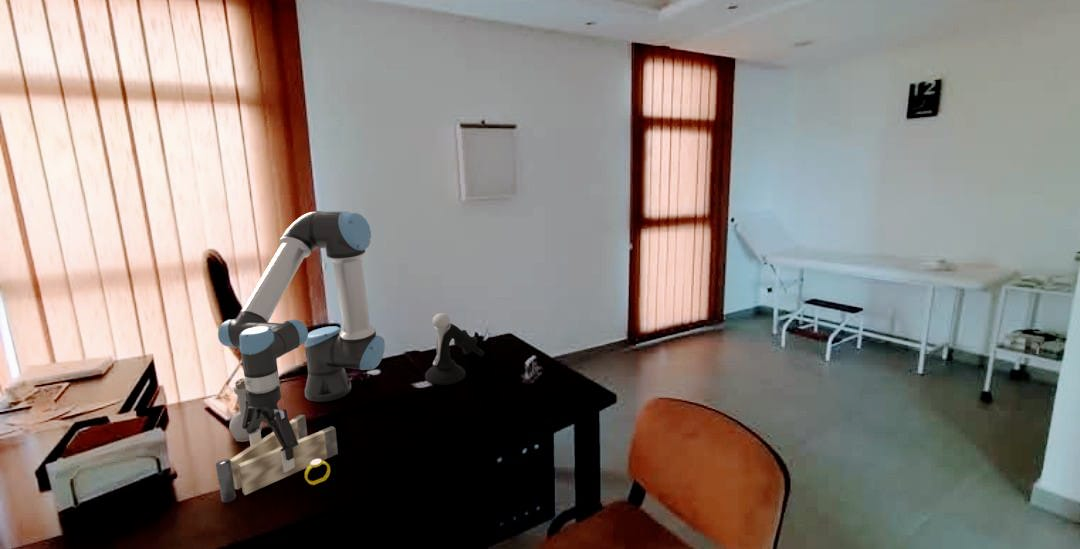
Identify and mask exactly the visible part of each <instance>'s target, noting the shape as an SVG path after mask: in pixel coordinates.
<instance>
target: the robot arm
mask: <svg viewBox="0 0 1080 549" xmlns="http://www.w3.org/2000/svg"><path fill="white" fill-rule="evenodd" d="M369 224H370V223H368V220H367V218H365V217H364V216H363V215H362V214H361V213H358V212H350V211H322V210H321V211H320V210H316V211H310V212H307V213H305V214H303V215H301V216H300V217H298V218H297V219H295V221H293V222H292V223H291V224H290V225H289V226H288V227H287V228H286V229H285V231H284V232H283V234H282V235H281V237H280V238H279V240H278V245H279V247H278V248H277V250H276V252H275V254H273V257H272V258H271V260H270V262H269V264H268V265H267V267H266V269H264V270H265V271H264V272H263V273H262V275H261V277H260V278H259V280H258V282H257V284H256V285H255V287H254V288H253V290H252V291H251V293H250V295H249V297H248V298H247V300H246V302H245V303H244V305H243V306H242V308H241V309H240V311H239V313H238V314H237V316H236V318H234V319H227V320H225V321H224V322H221V323H222V324H221V325H220V326H219V327H218V332H217V337H218V340H219V342H220V344H221V345H223V346H225V347H229V348H234V349H236V350H237V349H239V352H240V357H241V358H240V359H241V364H242V369H243V375H244V379H245V382H244V384H245V385H246V390H247V392H246V398H247V401H246V410H245V415H244V419H243V424H242V428H243V429H247V430H246V431H247V433H249V439H250V441H249V443H250V446H252V445H253V444H255V443H256V442H258V441H260V440H261V439H262V434H261V432H262V431H261V432H260V430H257V429H259V428H260V424H261V422H262V421H263V423H265V424H266V426H267V427H268V428H270V429H271V430H272V432H274V434H275V435H276V437H277V439H278V441H279V442H280V444H281V446H282V449H281V457H282V464H283V472H287V471H289V470H291V469H292V468H294V467H295V464H294V454H293V447H295V446H297V445H298V441H297V439H296V436H295V434H294V431H293V429H292V426H291V424H290V422H289V421H290V419H289V417H288V412H287V409H286V408H283V409H279V407H278V403H279V402H280V401H281V399H282V394H281V392H282V391H281V386H280V378H279V376H280V375H279V370H278V369H279V368H278V361H277V360H278V359H279V358H281V357H282V356H284V355H286V354H287V353H289V352H292V351H293V350H295V349H298V348H299V347H300V346H302V345H303V344H304V349H305V357H306V358H305V359H306V365H307V374H308V375H307V378H306V379H307V380H306V383H305V387H304V397H305V398H306V399H307V400H308V401H311V402H316V403H323V402H331V401H335V400H338V399H341V398H343V397H345V396H347V395H348V394H349V393H350V392H351V390H352V383H351V380H350V378H349V376H348V374H347V372H346V369H355V370H361V371H364V370H365V371H366V370H374V369H376V368H377V367H378V366H379V365H380V363H381V361H382V359H383V357H384V353H385V350H386V349H385V347H386V346H385V345H386V344H385V339H384V338H383V337H382V336H381V335H377V331H376V327H375V326H374V325H373V324H371V320H370V314H369V312H370V311H369V307H368V298H367V291H366V283H365V276H364V270H363V261H362V257H363V256H364V255H365V254H366V250H367V248H369V246H370V244H371V239H372V231H371V227H370V225H369ZM315 249H325V253H326V257H327V258H328V259H330V260H331V261H332V264H333V270H334V276H335V284H336V289H337V290H336V291H337V296H338V304H339V310H340V317H341V322H342V329H341V327H340V326H337V325H335V326H325V327H324V326H323V327H321V328H317V329H313V330H312V331H310V332H309V331H308V328H307V326H306V324H304V322H302V321H301V320H299V319H295V318H294V319H290V320H285V321H284V322H281V323H280V322H269V321H270V320H271V317H272V315H273V313H274V312H275V311H276V309H277V307H278V305H279V303H280V301H281V300H282V297H283V296H284V294H285V293H286V292H287V289H288V287H289V285H290V284H291V282H292V281H293V278H294V277H295V275H296V273H297V271H298V270H299V268H300V266H301V264H302V263H303V260H304V259H305V258H309V257H310V255H311V254H312V252H313V251H314V250H315ZM256 430H257V431H256ZM250 446H249V447H250Z"/></svg>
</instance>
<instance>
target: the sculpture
mask: <svg viewBox="0 0 1080 549" xmlns="http://www.w3.org/2000/svg"><path fill="white" fill-rule="evenodd" d="M432 324H433V326H434V329H435V330H436V340H435V342H436V344H435V346H436V347H435V348H436V349H435V350H436V356H435V358H434V360H433V362H432V366H431V367H430V368H429V369H428V370H426V372H425V374H424V378H425V381H427V382H428V383H429V384H433V385H439V386H441V385H442V386H446V385H454V384H457V383H458V382H461V381H463V380H464V379H465V377H466V370H465V369H464V368H463V367H462V366H461V365H458V364H456V361H455V360H454V359H452V357H451V352H450V344H451V341H452V339H453V344H454V345H455V346H458V347H460V348H461V349H462V351H463V352H462V353H463V354H465V355H469V354H470V353H472V352H473V353H475V354H477V355H478V356H479V357H481V358H482V357H483V356H484V355H485V353H486V352H485V351H484V350H482V349H481V348H480V347H478V346H477V344H478V338H477V337H476V336H471V335H469V333H468V332H467V330H466V329H460V328H459V327H458V326H456V325H455V324H453V323H450V318H449V316H448V315H447V314H446V313H443V312H440V313H436V315H435V316H433V318H432Z"/></svg>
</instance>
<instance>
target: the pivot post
mask: <svg viewBox="0 0 1080 549" xmlns="http://www.w3.org/2000/svg"><path fill="white" fill-rule="evenodd" d="M215 468H216V473H217V474H216V475H217V480H218V486H219V493H220V496H221V497H220V499H221V502H222V503H224V504H225V503H230V502H231V503H232V502H233V501H235V499H237V494H236V489H235V487H234V481H233V474H232V468H231V462H230V459H229V458H225V459H221V460H218V461H217V462H216V463H215Z"/></svg>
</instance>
